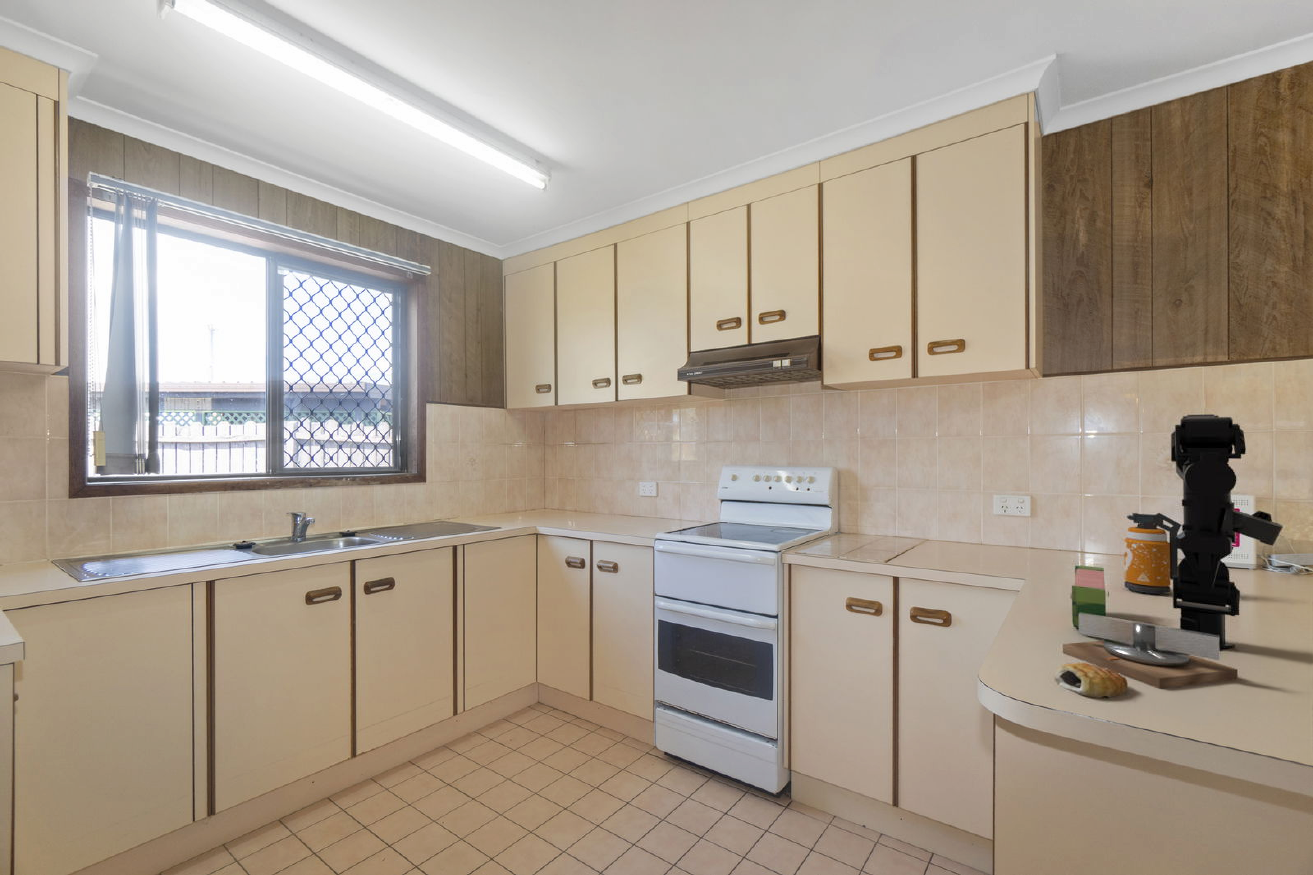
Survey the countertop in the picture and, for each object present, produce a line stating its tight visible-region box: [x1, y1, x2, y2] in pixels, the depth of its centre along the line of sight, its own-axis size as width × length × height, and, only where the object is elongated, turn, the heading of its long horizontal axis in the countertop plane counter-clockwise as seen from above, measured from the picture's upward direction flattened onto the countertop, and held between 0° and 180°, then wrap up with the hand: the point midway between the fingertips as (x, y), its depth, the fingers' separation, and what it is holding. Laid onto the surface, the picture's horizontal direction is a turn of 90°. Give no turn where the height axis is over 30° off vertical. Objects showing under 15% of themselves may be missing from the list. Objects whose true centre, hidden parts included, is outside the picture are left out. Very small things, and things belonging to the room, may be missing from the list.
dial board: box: [1062, 639, 1239, 689], centre depth 99 cm, size 16×16×2 cm
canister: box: [1123, 512, 1182, 596], centre depth 150 cm, size 9×11×20 cm
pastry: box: [1053, 662, 1129, 699], centre depth 89 cm, size 9×7×4 cm
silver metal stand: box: [1078, 612, 1221, 666], centre depth 99 cm, size 11×16×5 cm
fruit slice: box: [1070, 565, 1110, 629], centre depth 122 cm, size 26×6×10 cm, turn 144°
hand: (1207, 590), depth 97 cm, fingers closed
